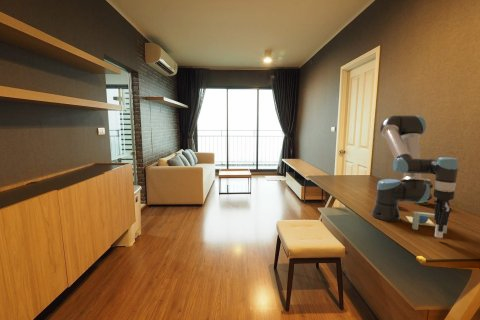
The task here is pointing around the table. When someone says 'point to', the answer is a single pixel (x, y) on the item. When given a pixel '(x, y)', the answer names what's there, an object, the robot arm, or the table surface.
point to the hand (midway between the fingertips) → (438, 236)
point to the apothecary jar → (430, 194)
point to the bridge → (417, 214)
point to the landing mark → (422, 223)
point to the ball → (423, 219)
